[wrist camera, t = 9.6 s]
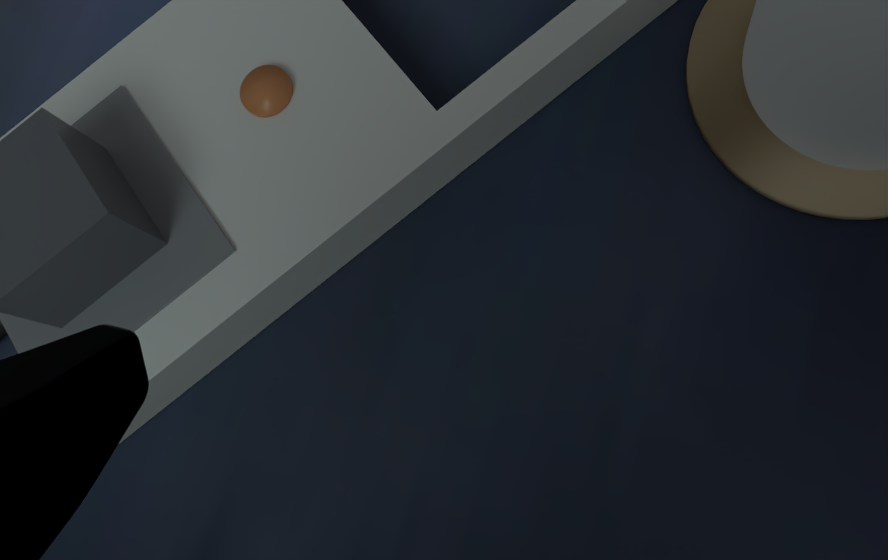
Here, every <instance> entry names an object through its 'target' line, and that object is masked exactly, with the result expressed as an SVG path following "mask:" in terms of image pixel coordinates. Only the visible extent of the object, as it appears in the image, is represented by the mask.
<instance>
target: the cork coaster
mask: <svg viewBox="0 0 888 560" xmlns="http://www.w3.org/2000/svg"><path fill="white" fill-rule="evenodd" d="M755 3H756V0H708V1H707V2H706V4H705V5H704V7H703V9H702V11H701V13H700V15H699V18H698V20H697V22H696V24H695V27H694V31H693V34H692V37H691V40H690V45H689V51H688V57H687V64H686V87H687V94H688V101H689V105H690V108H691V111H692V115H693V118H694V121H695V123H696V125H697V127H698V129H699V131H700V133H701V136H702V137H703V139H704V141H705V142H706V144H707V145H708V147H709V148H710V150H711V151H712V153H713V154H714V155H715V156H716V157H717V159H718V160H719V161H720V162H721V163H722V164H723V166H724V167H725V168H726V169H727V170H728V171H730V172H731V173H732V174H733V175H734V176H735V177H736V178H738V179H739V180H740V181H741V182H742V183H744V184H745V185H747V186H748V187H750V188H751V189H753V190H754V191H756V192H757V193H758V194H760V195H762V196H764V197H766V198H768V199H770V200H772V201H774V202H776V203H778V204H780V205H783V206H786V207H788V208H791V209H794V210H796V211H799V212H803V213H807V214H811V215H815V216H820V217H826V218H834V219H842V220H874V219H883V218H888V169H887V170H853V169H846V168H840V167H836V166H832V165H828V164H825V163H822V162H819V161H816V160H814V159H811V158H809V157H807V156H805V155H803V154H801V153H799V152H797V151H796V150H794V149H793V148H791V147H789V146H788V145H787V144H785V143H784V142H783V141H781V140H780V139H779V138H778V137H777V136H776V135H774V134H773V133H772V132H771V131H770V130H769V128H768V127H767V126H766V125H765V124H764V123H763V121H762V120H761V119H760V117H759V116H758V114H757V113H756V111H755V109H754V107H753V106H752V104H751V101H750V99H749V97H748V94H747V91H746V88H745V84H744V79H743V71H742V56H743V49H744V43H745V38H746V35H747V31H748V27H749V24H750V20H751V17H752V14H753V10H754V7H755Z"/></svg>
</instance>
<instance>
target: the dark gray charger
mask: <svg viewBox="0 0 888 560" xmlns="http://www.w3.org/2000/svg"><path fill="white" fill-rule="evenodd" d="M167 244H168V243H167V242H166V240H165V239H164V237H163V235H162V234H161V232H160V231H159V229H158V228H157V226H156V225H155V223H154V222H153V220H152V219H151V217H150V215H149V214H148V212H147V211H146V209H145V208H144V206H143V205H142V203H141V202H140V200H139V199H138V197H137V195H136V194H135V192H134V191H133V189H132V188H131V186H130V185H129V183H128V182H127V180H126V179H125V177H124V176H123V174H122V172H121V171H120V169H119V168H118V166H117V165H116V163H115V162H114V160H113V159H112V157H111V156H110V154H109V152H108V151H107V149H106V148H105V147H103V146H101V145H100V144H98V143H97V142H95V141H94V140H92V139H91V138H89V137H87V136H86V135H84V134H83V133H81V132H80V131H78V130H77V129H75V128H73V127H72V126H70V125H69V124H67V123H66V122H64V121H63V120H61V119H59V118H58V117H56V116H55V115H53V114H52V113H50V112H48V111H47V110H45V109H44V108H40V109H39V110H38V111H37V112H35V113H34V114H33V115H32V116H31V117H29V118H28V119H27V120H26V121H24V122H23V123H22V124H21V125H19V126H18V127H17V128H16V129H14V130H13V131H12V132H11V133H9V134H8V135H7V136H6V137H4V138H3V139H2V140H1V141H0V312H1V313H5V314H9V315H12V316H16V317H20V318H24V319H28V320H31V321H35V322H39V323H43V324H47V325H50V326H54V327H58V328H63V327H64V326H65V325H66V324H68V323H69V322H70V321H71V320H73V319H74V318H75V317H76V316H78V315H79V314H80V313H81V312H83V311H84V310H85V309H86V308H88V307H89V306H90V305H91V304H93V303H94V302H95V301H96V300H98V299H99V298H100V297H102V296H103V295H104V294H105V293H107V292H108V291H109V290H110V289H112V288H113V287H114V286H115V285H117V284H118V283H119V282H120V281H122V280H123V279H124V278H125V277H127V276H128V275H129V274H130V273H132V272H133V271H134V270H135V269H137V268H138V267H139V266H140V265H142V264H143V263H144V262H145V261H147V260H148V259H149V258H150V257H152V256H153V255H154V254H155V253H157V252H158V251H159V250H160V249H162V248H163V247H164V246H165V245H167Z"/></svg>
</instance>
